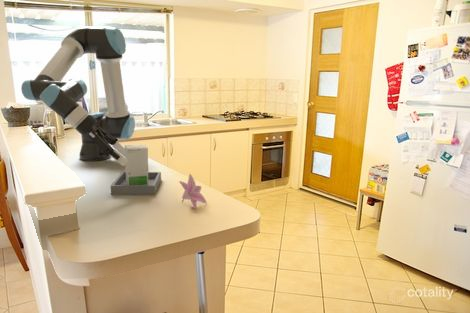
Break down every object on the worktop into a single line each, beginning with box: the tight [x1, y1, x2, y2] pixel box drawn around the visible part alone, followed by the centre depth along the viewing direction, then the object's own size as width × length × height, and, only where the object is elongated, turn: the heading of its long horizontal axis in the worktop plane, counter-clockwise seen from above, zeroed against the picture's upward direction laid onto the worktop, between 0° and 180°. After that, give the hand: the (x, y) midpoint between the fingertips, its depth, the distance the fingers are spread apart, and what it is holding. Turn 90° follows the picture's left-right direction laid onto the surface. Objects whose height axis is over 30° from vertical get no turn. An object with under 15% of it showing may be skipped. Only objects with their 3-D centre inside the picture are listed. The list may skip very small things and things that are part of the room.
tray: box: [110, 171, 162, 196], centre depth 135 cm, size 18×16×4 cm
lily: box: [179, 173, 208, 210], centre depth 119 cm, size 12×12×10 cm
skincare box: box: [124, 144, 149, 185], centre depth 134 cm, size 8×7×16 cm
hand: (126, 159), depth 131 cm, fingers open, 13 cm apart
